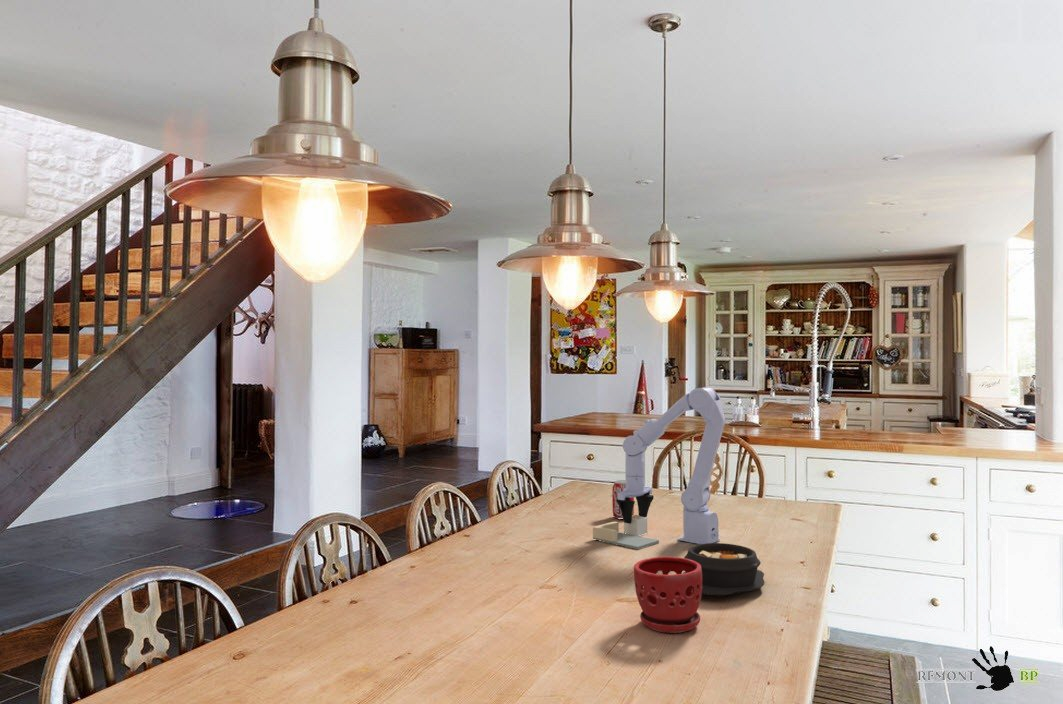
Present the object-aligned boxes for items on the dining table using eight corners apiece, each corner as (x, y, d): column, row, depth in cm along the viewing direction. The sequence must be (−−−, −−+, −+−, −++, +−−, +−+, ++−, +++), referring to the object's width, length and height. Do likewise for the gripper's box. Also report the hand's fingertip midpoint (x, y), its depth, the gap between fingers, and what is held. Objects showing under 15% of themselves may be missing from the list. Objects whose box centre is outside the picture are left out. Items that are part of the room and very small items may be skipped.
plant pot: (655, 609, 153) (655, 552, 154) (714, 623, 145) (713, 562, 145) (621, 627, 143) (621, 565, 143) (682, 643, 135) (682, 577, 135)
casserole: (736, 610, 153) (736, 569, 153) (658, 592, 165) (658, 555, 165) (783, 582, 172) (782, 546, 172) (710, 568, 184) (709, 534, 184)
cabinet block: (647, 534, 221) (647, 515, 221) (637, 537, 217) (637, 518, 217) (633, 531, 224) (633, 513, 224) (623, 534, 221) (623, 515, 221)
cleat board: (658, 543, 209) (658, 529, 209) (637, 549, 202) (637, 535, 202) (614, 534, 221) (614, 521, 221) (593, 540, 213) (592, 526, 213)
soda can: (635, 520, 240) (634, 483, 240) (613, 520, 240) (613, 483, 240) (632, 515, 247) (632, 479, 247) (611, 515, 247) (611, 480, 247)
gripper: (638, 471, 229) (638, 515, 229) (609, 476, 218) (609, 522, 218) (657, 473, 224) (657, 518, 224) (628, 479, 213) (628, 526, 213)
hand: (635, 520), depth 221 cm, fingers open, 7 cm apart
